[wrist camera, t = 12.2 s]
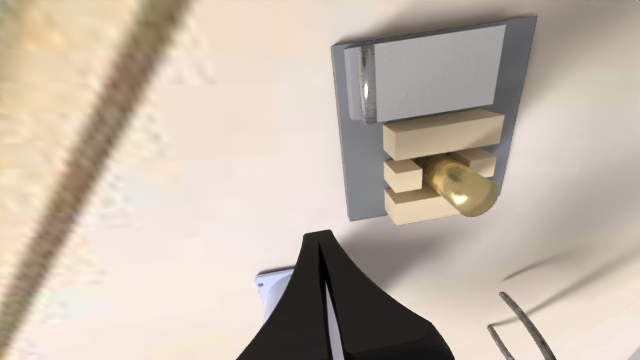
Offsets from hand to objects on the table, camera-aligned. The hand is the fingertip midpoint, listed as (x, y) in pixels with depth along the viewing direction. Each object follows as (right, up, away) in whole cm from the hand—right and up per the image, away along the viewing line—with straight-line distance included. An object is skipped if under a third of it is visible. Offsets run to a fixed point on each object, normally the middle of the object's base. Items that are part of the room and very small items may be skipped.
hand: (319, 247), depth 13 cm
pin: (+9, +5, +8) cm, 13 cm away
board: (+9, +7, +8) cm, 14 cm away
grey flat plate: (+7, +10, +3) cm, 12 cm away
